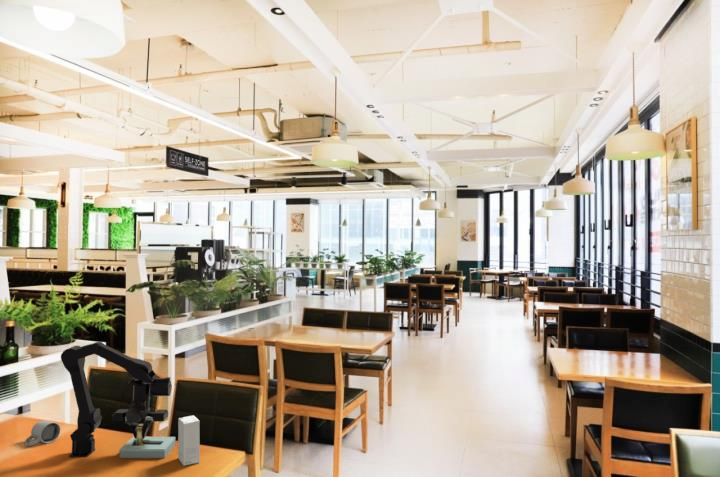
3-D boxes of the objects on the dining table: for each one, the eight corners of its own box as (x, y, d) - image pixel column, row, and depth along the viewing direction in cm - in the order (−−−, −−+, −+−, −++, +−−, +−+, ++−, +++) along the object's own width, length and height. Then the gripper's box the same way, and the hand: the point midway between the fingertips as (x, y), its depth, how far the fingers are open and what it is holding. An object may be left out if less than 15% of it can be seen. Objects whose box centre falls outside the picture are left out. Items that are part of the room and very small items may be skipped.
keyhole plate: (119, 457, 177) (119, 449, 178) (133, 445, 189) (133, 436, 189) (164, 458, 178) (164, 449, 178) (175, 445, 190) (175, 436, 190)
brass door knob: (130, 453, 181) (131, 427, 181) (135, 448, 186) (136, 423, 186) (143, 453, 181) (144, 427, 182) (148, 448, 186) (149, 423, 186)
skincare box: (199, 463, 175) (201, 420, 175) (182, 466, 172) (183, 423, 172) (193, 454, 182) (194, 414, 182) (176, 458, 179) (178, 416, 179)
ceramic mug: (48, 435, 197) (49, 416, 197) (60, 439, 193) (61, 420, 193) (19, 444, 188) (20, 424, 188) (31, 449, 184) (32, 428, 184)
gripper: (106, 402, 176) (104, 446, 175) (159, 403, 177) (157, 446, 176) (119, 393, 187) (117, 435, 186) (169, 394, 188) (167, 435, 187)
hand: (139, 438), depth 184 cm, fingers closed on brass door knob, 2 cm apart
